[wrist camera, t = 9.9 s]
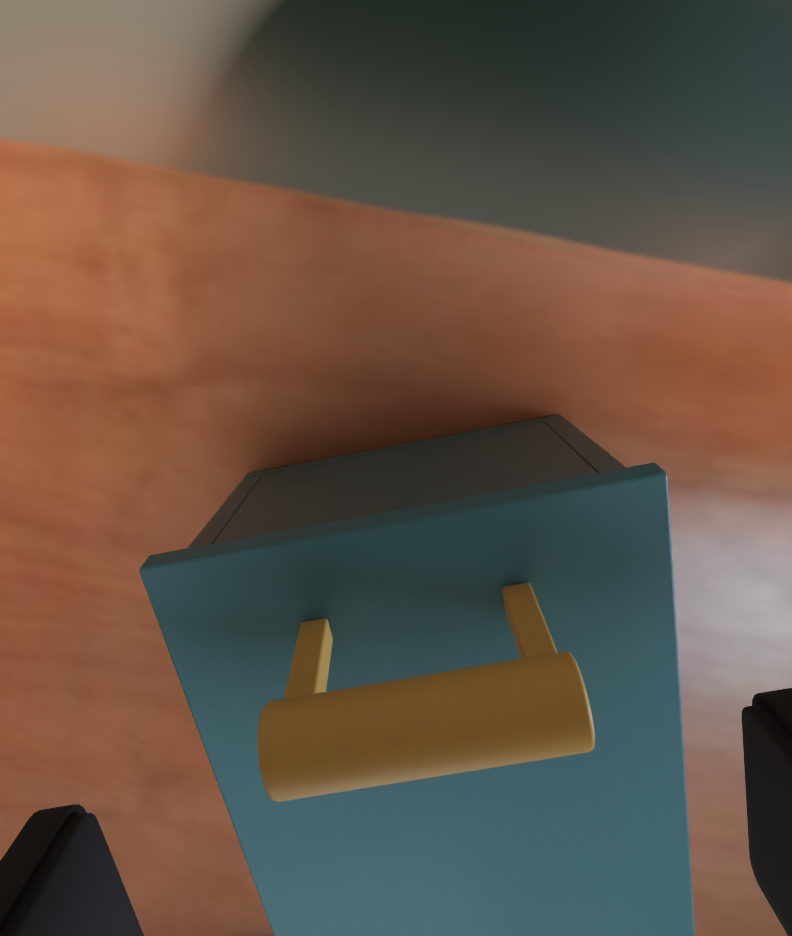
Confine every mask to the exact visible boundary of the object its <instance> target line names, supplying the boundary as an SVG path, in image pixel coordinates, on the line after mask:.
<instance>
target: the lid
mask: <svg viewBox="0 0 792 936" xmlns="http://www.w3.org/2000/svg"><path fill="white" fill-rule="evenodd" d="M140 574H141V577H142V580H143V582H144V585H145V588H146V591H147V593H148V596H149V599H150V601H151V604H152V607H153V609H154V612H155V615H156V618H157V620H158V623H159V626H160V628H161V631H162V634H163V636H164V639H165V642H166V645H167V647H168V650H169V653H170V655H171V658H172V661H173V664H174V666H175V669H176V672H177V674H178V677H179V680H180V682H181V685H182V688H183V691H184V693H185V696H186V699H187V701H188V704H189V707H190V709H191V712H192V715H193V718H194V720H195V723H196V726H197V728H198V731H199V734H200V736H201V739H202V742H203V745H204V747H205V750H206V753H207V755H208V758H209V761H210V764H211V766H212V769H213V772H214V774H215V777H216V780H217V782H218V785H219V788H220V791H221V793H222V796H223V799H224V801H225V804H226V807H227V809H228V812H229V815H230V818H231V820H232V823H233V826H234V828H235V831H236V834H237V837H238V839H239V842H240V845H241V847H242V850H243V853H244V855H245V858H246V861H247V864H248V866H249V869H250V872H251V874H252V877H253V880H254V882H255V885H256V888H257V891H258V893H259V896H260V899H261V901H262V904H263V907H264V909H265V912H266V915H267V918H268V920H269V923H270V926H271V928H272V931H273V934H274V936H695V929H694V912H693V895H692V879H691V862H690V845H689V829H688V812H687V795H686V779H685V762H684V745H683V729H682V712H681V695H680V679H679V662H678V645H677V629H676V612H675V595H674V579H673V562H672V545H671V529H670V512H669V495H668V478H667V473H666V472H665V471H664V470H663V469H661V468H660V467H659V466H658V465H657V464H656V463H649V464H644V465H639V466H633V467H628V468H622V469H617V470H611V471H606V472H601V473H595V474H590V475H584V476H579V477H573V478H568V479H563V480H557V481H552V482H546V483H541V484H535V485H530V486H524V487H519V488H514V489H508V490H503V491H497V492H492V493H486V494H481V495H476V496H470V497H465V498H459V499H454V500H448V501H443V502H438V503H432V504H427V505H421V506H416V507H410V508H405V509H400V510H394V511H389V512H383V513H378V514H372V515H367V516H361V517H356V518H351V519H345V520H340V521H334V522H329V523H323V524H318V525H313V526H307V527H302V528H296V529H291V530H285V531H280V532H275V533H269V534H264V535H258V536H253V537H247V538H242V539H237V540H231V541H226V542H220V543H215V544H209V545H204V546H199V547H193V548H188V549H182V550H177V551H171V552H166V553H160V554H155V555H151V556H149V557H148V558H147V560H146V561H145V562H144V564H143V565H142V566H141V568H140Z"/></svg>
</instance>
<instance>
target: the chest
mask: <svg viewBox="0 0 792 936" xmlns="http://www.w3.org/2000/svg"><path fill="white" fill-rule="evenodd" d="M622 468H626V467H625V466H624V465H623V464H621V463H620V462H619V461H618V460H616V459H615V458H614V457H613V456H611V455H610V454H609V453H608V452H606V451H605V450H604V449H603V448H601V447H600V446H599V445H598V444H596V443H595V442H594V441H593V440H591V439H590V438H589V437H588V436H586V435H585V434H584V433H583V432H581V431H580V430H579V429H578V428H576V427H575V426H574V425H573V424H571V423H570V422H569V421H568V420H566V419H565V418H564V417H562V416H561V415H560V414H558V415H552V416H547V417H542V418H537V419H531V420H526V421H521V422H515V423H510V424H505V425H500V426H494V427H489V428H484V429H479V430H473V431H468V432H463V433H457V434H452V435H447V436H442V437H436V438H431V439H426V440H421V441H415V442H410V443H405V444H399V445H394V446H389V447H384V448H378V449H373V450H368V451H363V452H357V453H352V454H347V455H341V456H336V457H331V458H326V459H320V460H315V461H310V462H305V463H299V464H294V465H289V466H283V467H278V468H273V469H268V470H262V471H257V472H252V473H248V474H247V475H246V476H245V477H244V478H243V480H242V481H241V483H240V484H239V485H238V486H237V487H236V489H235V490H234V491H233V492H232V494H231V495H230V496H229V497H228V499H227V500H226V501H225V502H224V504H223V505H222V506H221V507H220V508H219V510H218V511H217V512H216V513H215V515H214V516H213V517H212V518H211V520H210V521H209V522H208V523H207V525H206V526H205V527H204V528H203V530H202V531H201V532H200V533H199V534H198V536H197V537H196V538H195V539H194V541H193V542H192V543H191V544H190V546H189V547H188V548H193V547H199V546H204V545H209V544H215V543H220V542H226V541H231V540H237V539H242V538H247V537H253V536H258V535H264V534H269V533H275V532H280V531H285V530H291V529H296V528H302V527H307V526H313V525H318V524H323V523H329V522H334V521H340V520H345V519H351V518H356V517H361V516H367V515H372V514H378V513H383V512H389V511H394V510H400V509H405V508H410V507H416V506H421V505H427V504H432V503H438V502H443V501H448V500H454V499H459V498H465V497H470V496H476V495H481V494H486V493H492V492H497V491H503V490H508V489H514V488H519V487H524V486H530V485H535V484H541V483H546V482H552V481H557V480H563V479H568V478H573V477H579V476H584V475H590V474H595V473H601V472H606V471H611V470H617V469H622ZM188 548H187V549H188Z"/></svg>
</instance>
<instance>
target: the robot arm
mask: <svg viewBox="0 0 792 936" xmlns="http://www.w3.org/2000/svg"><path fill="white" fill-rule="evenodd" d="M742 729H743V747H744V764H745V782H746V800H747V817H748V835H749V853H750V861H751V865H752V869H753V872H754V875H755V878H756V880H757V882H758V884H759V886H760V888H761V890H762V892H763V894H764V895H765V897H766V899H767V900H768V902H769V904H770V905H771V907H772V909H773V911H774V912H775V914H776V916H777V917H778V919H779V921H780V922H781V924H782V926H783V928H784V929H785V931H786V933H787V934H788V936H792V688H788V689H782V690H776V691H770V692H764V693H758V694H756V695H754V697H753V700H752V706H749V707H745V708H743V710H742ZM0 936H144V935H143V932H142V930H141V927H140V925H139V922H138V920H137V917H136V915H135V912H134V910H133V907H132V905H131V902H130V900H129V897H128V895H127V892H126V890H125V887H124V885H123V882H122V880H121V877H120V875H119V872H118V870H117V867H116V865H115V862H114V860H113V857H112V855H111V852H110V850H109V847H108V845H107V842H106V840H105V837H104V835H103V832H102V830H101V828H100V825H99V823H98V820H97V818H96V817H95V815H93V814H92V813H87V812H86V811H85V809H84V808H83V807H82V806H80V805H69V806H62V807H56V808H50V809H44V810H39V811H37V812H35V813H34V814H33V815H32V816H31V817H30V818H29V820H28V821H27V823H26V824H25V826H24V827H23V829H22V830H21V832H20V833H19V835H18V836H17V837H16V839H15V840H14V842H13V843H12V845H11V846H10V848H9V849H8V851H7V852H6V854H5V855H4V857H3V858H2V860H1V861H0Z"/></svg>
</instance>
